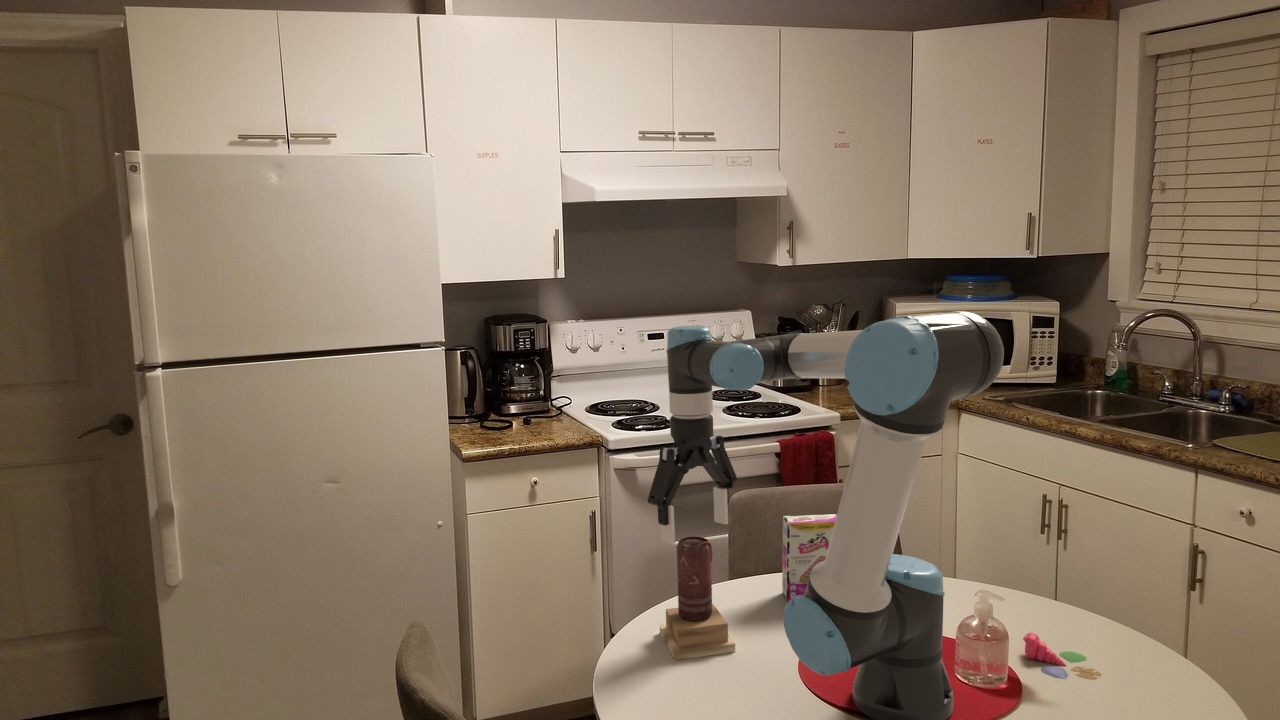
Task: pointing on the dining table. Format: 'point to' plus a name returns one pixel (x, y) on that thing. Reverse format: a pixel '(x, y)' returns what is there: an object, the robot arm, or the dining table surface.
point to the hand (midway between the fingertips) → (695, 532)
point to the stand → (696, 635)
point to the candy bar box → (803, 549)
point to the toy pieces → (1056, 659)
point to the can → (694, 578)
